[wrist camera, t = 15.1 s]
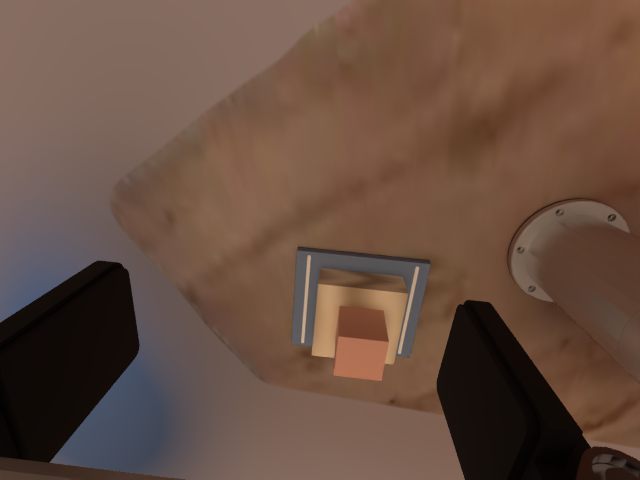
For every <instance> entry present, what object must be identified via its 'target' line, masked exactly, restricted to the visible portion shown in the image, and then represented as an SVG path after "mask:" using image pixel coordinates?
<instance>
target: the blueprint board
mask: <svg viewBox="0 0 640 480" xmlns="http://www.w3.org/2000/svg"><path fill="white" fill-rule="evenodd" d="M430 267H431V263H430V261H428V260H418V259H409V258H399V257H389V256H380V255H370V254H360V253H351V252H341V251H331V250H321V249H312V248H302V247H298V250H297V262H296V278H295V295H294V311H293V327H292V343H291V344H294V345H303V346H312V347H313V336H314V325H315V314H316V303H317V292H318V282H319V276H320V269H321V268H327V269H337V270H346V271H356V272H365V273H375V274H384V275H394V276H403V279H404V282H405V285H406V288H407V291H408V298H407V302H406V307H405V312H404V317H403V322H402V326H401V331H400V336H399V341H398V346H397V350H396V355H395V356H401V357H409V358H410V354H411V349H412V345H413V341H414V336H415V332H416V328H417V323H418V319H419V315H420V310H421V306H422V301H423V297H424V293H425V288H426V284H427V280H428V275H429V271H430Z"/></svg>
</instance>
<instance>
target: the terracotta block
mask: <svg viewBox="0 0 640 480" xmlns="http://www.w3.org/2000/svg"><path fill="white" fill-rule="evenodd" d="M388 345H389V339H388V334H387V328H386V322H385V317H384V311H383V310H375V309H365V308H356V307H347V306H339V313H338V322H337V330H336V338H335V355H334V375H335V376H344V377H352V378H361V379H370V380H379V381H382V375H383V370H384V365H385V360H386V355H387V350H388Z"/></svg>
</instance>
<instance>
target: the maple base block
mask: <svg viewBox="0 0 640 480" xmlns="http://www.w3.org/2000/svg"><path fill="white" fill-rule="evenodd" d="M407 298H408V291H407V288H406V285H405V282H404V279H403V276H394V275H384V274H375V273H365V272H356V271H346V270H337V269H327V268H321V269H320V276H319V282H318V292H317V303H316V314H315V325H314V336H313V347H312V355H314V356H323V357H332V358H334V355H335V338H336V330H337V322H338V313H339V306H347V307H356V308H365V309H375V310H383V311H384V317H385V322H386V328H387V334H388V339H389V345H388V350H387V355H386V360H385V364H393V365H394V360H395V355H396V350H397V346H398V341H399V336H400V331H401V326H402V322H403V317H404V312H405V307H406V302H407Z"/></svg>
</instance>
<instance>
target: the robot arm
mask: <svg viewBox="0 0 640 480" xmlns="http://www.w3.org/2000/svg"><path fill="white" fill-rule="evenodd" d="M508 267H509V270H510V273H511V276H512V278H513V279H514V281H515V282H516V284H517V285H518V286H519V287H520V288H521V289H522V290H523V291H524V292H526V293H527V294H528V295H530V296H532V297H534V298H536V299H539V300H543V301H548V302H555V303H556V304H557V305H558V306H559V307H560V308H561V309H563V310H564V311H565V312H566V313H567V314H568V315H569V316H570V317H571V318H572V319H573V320H574V321H575V322H576V323H577V324H578V325H579V326H580V327H581V328H582V329H583V330H584V331H585V332H586V333H587V334H588V335H590V336H591V337H592V338H593V339H594V340H595V341H596V342H597V343H598V344H599V345H600V346H601V347H602V348H603V349H604V350H605V351H606V352H607V353H608V354H609V355H610V356H611V357H612V358H613V359H614V360H615V361H617V362H618V363H619V364H620V365H621V366H622V367H623V368H624V369H625V370H626V371H627V372H628V373H629V374H630V375H631V376H632V377H633V378H635V379H636V380H637V381H638V382H639V383H640V238H638V237H636V236H634V235H632V234H630V230H629V227H628V225H627V223H626V221H625V219H624V218H623V217H622V216H621V215H620V213H618V212H617V211H616V210H614V209H613V208H611V207H609V206H607V205H605V204H602V203H599V202H596V201H593V200H585V199H574V200H566V201H562V202H558V203H555V204H553V205H550V206H548V207H545V208H544V209H542V210H541V211H539V212H537V213H536V214H534V215H533V216H532V217H531V218H529V219H528V220H527V221H526V222H525V223H524V224H523V225H522V227H521V228H520V229H519V230H518V232H517V233H516V235H515V237H514V238H513V240H512V243H511V246H510V248H509V254H508ZM138 351H139V339H138V332H137V325H136V318H135V312H134V305H133V298H132V291H131V285H130V278H129V273H128V271H127V269H125V268H124V267H123V266H122V264H120V263H117V262H107V261H96V262H94V263H92V264H91V265H89V266H88V267H86V268H85V269H83V270H82V271H80V272H78V273H77V274H75V275H74V276H72V277H71V278H69V279H68V280H66V281H64V282H63V283H61V284H60V285H58V286H57V287H55V288H54V289H52V290H51V291H49V292H47V293H46V294H44V295H43V296H41V297H40V298H38V299H36V300H35V301H33V302H32V303H30V304H29V305H27V306H25V307H24V308H22V309H21V310H19V311H18V312H16V313H15V314H13V315H11V316H10V317H8V318H7V319H5V320H4V321H2V322H1V323H0V480H184V479H175V478H168V477H160V476H152V475H144V474H136V473H128V472H120V471H112V470H103V469H95V468H86V467H79V466H70V465H62V464H54V463H49V462H50V461H51V460H52V459H53V458H54V456H55V455H56V454H57V453H58V451H59V450H60V449H61V448H62V447H63V445H64V444H65V443H66V442H67V440H68V439H69V438H70V437H71V436H72V434H73V433H74V432H75V431H76V429H77V428H78V427H79V426H80V424H81V423H82V422H83V421H84V420H85V419H86V417H87V416H88V415H89V414H90V412H91V411H92V410H93V409H94V407H95V406H96V405H97V404H98V403H99V401H100V400H101V399H102V398H103V397H104V395H105V394H106V393H107V392H108V390H109V389H110V388H111V386H112V385H113V384H114V383H115V382H116V381H117V379H118V378H119V377H120V376H121V375H122V373H123V372H124V371H125V370H126V368H127V367H128V366H129V365H130V364H131V362H132V361H133V360H134V359H135V357H136V356H137V354H138ZM437 392H438V395H439V399H440V402H441V405H442V408H443V411H444V414H445V417H446V420H447V424H448V427H449V430H450V433H451V437H452V440H453V443H454V446H455V449H456V453H457V456H458V459H459V462H460V465H461V468H462V471H463V475H464V478H465V480H640V461H639V460H637V459H636V458H634V457H631V456H629V455H627V454H625V453H623V452H621V451H618V450H615V449H611V448H608V447H595V446H594V447H592V448H591V447H590V445H589V444H588V443H587V441H586V440H585V438H584V437H583V436H582V433H583V432H582V430H581V429H580V427H579V426H578V425H577V423H576V422H575V420H574V419H573V418H572V416H571V415H570V413H569V412H568V411H567V409H566V408H565V406H564V405H563V404H562V402H561V401H560V399H559V398H558V397H557V395H556V394H555V392H554V391H553V390H552V388H551V387H550V386H549V384H548V383H547V381H546V380H545V379H544V377H543V376H542V374H541V373H540V372H539V370H538V369H537V367H536V366H535V365H534V363H533V362H532V360H531V359H530V358H529V356H528V355H527V353H526V352H525V351H524V349H523V348H522V346H521V345H520V344H519V342H518V341H517V339H516V338H515V337H514V335H513V334H512V332H511V331H510V330H509V328H508V327H507V325H506V324H505V323H504V321H503V320H502V318H501V317H500V316H499V314H498V313H497V311H496V310H495V309H494V307H493V306H492V304H490V303H489V302H483V301H473V300H467V301H465V303H464V305H462V304H460V305H458V307H457V309H456V313H455V316H454V320H453V323H452V327H451V331H450V334H449V338H448V342H447V345H446V349H445V352H444V356H443V360H442V363H441V367H440V370H439V374H438V378H437Z"/></svg>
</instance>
